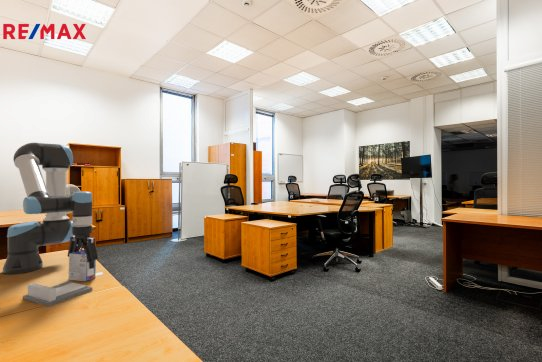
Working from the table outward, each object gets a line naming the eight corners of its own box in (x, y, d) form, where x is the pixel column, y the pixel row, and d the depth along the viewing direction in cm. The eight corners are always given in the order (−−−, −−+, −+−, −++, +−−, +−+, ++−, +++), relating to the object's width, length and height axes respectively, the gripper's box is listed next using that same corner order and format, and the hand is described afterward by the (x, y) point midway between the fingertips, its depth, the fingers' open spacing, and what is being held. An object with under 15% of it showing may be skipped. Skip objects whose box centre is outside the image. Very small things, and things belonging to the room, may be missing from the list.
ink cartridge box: (96, 277, 129) (96, 246, 129) (86, 281, 124) (86, 249, 124) (78, 276, 131) (78, 245, 131) (67, 280, 126) (67, 248, 126)
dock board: (22, 298, 106) (22, 285, 106) (67, 284, 121) (67, 272, 121) (48, 306, 100) (48, 292, 100) (92, 290, 114) (92, 277, 114)
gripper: (58, 225, 128) (58, 273, 128) (90, 228, 119) (90, 280, 119) (75, 222, 135) (75, 268, 135) (107, 225, 126) (107, 274, 126)
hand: (82, 273), depth 127 cm, fingers closed on ink cartridge box, 10 cm apart
